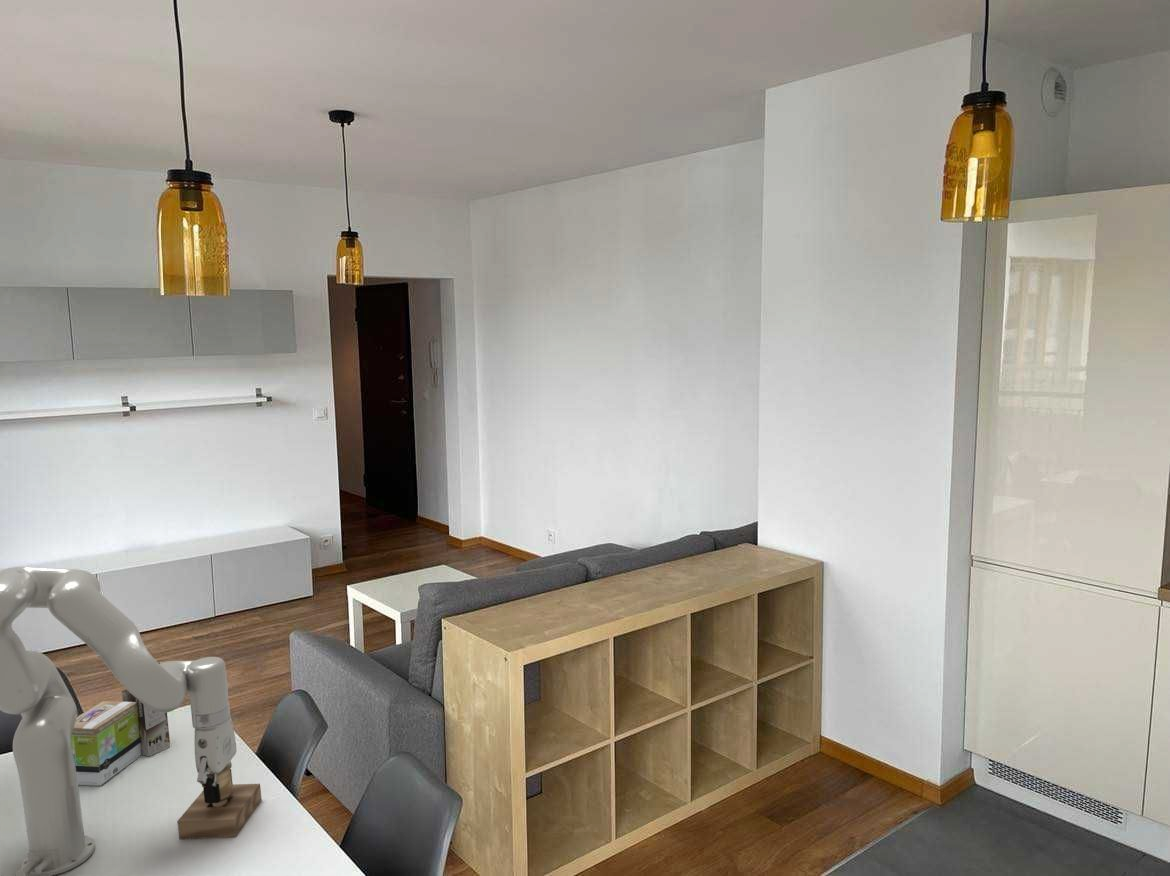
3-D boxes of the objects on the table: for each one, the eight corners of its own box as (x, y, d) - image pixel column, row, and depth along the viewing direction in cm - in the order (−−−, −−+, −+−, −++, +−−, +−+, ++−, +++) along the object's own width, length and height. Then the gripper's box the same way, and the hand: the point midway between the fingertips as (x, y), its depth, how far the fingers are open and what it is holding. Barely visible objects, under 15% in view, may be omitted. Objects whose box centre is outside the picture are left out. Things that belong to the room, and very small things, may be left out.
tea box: (102, 787, 199) (95, 728, 197) (64, 785, 201) (56, 727, 199) (143, 755, 214) (137, 700, 212) (107, 754, 215) (101, 699, 214)
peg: (227, 817, 181) (223, 776, 180) (202, 818, 181) (198, 776, 180) (238, 803, 186) (234, 763, 185) (214, 804, 186) (209, 763, 185)
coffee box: (171, 746, 218) (166, 687, 216) (148, 757, 213) (142, 696, 211) (150, 739, 223) (144, 681, 221) (126, 750, 217) (120, 690, 215)
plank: (235, 836, 177) (233, 819, 176) (179, 838, 177) (177, 821, 176) (261, 800, 191) (260, 783, 190) (209, 801, 191) (207, 785, 190)
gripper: (210, 733, 172) (218, 816, 175) (244, 697, 189) (251, 773, 192) (174, 735, 172) (183, 817, 175) (211, 698, 189) (219, 774, 192)
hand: (218, 793), depth 183 cm, fingers closed on peg, 5 cm apart
